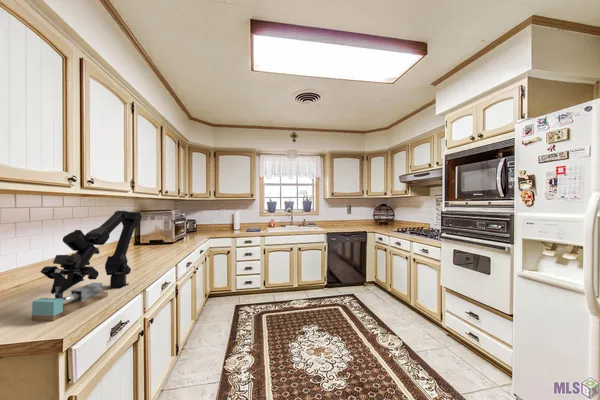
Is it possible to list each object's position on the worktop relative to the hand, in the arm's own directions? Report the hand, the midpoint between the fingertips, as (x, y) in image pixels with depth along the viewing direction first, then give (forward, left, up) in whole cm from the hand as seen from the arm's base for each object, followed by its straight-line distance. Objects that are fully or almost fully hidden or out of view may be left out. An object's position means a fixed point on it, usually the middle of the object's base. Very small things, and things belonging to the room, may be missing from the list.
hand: (55, 293), depth 92 cm
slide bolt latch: (-8, 0, -8) cm, 11 cm away
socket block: (+3, 0, -6) cm, 7 cm away
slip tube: (-4, 0, -6) cm, 7 cm away
